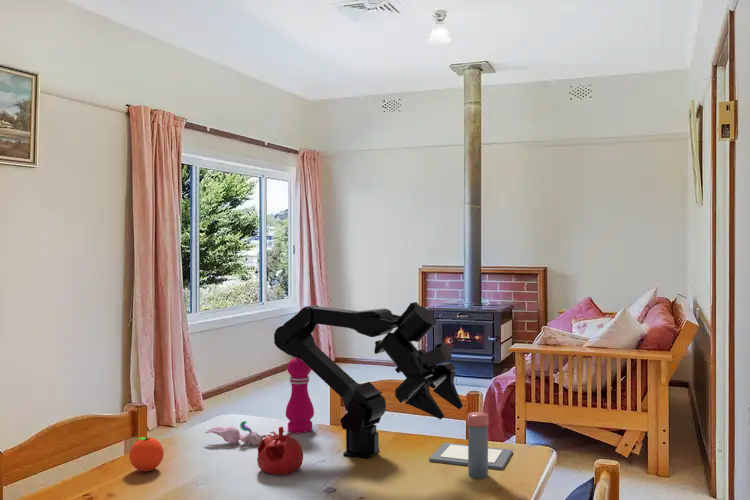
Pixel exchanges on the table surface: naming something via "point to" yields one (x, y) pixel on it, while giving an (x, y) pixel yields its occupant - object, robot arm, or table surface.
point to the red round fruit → (279, 454)
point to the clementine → (146, 453)
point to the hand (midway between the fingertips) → (452, 412)
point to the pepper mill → (299, 398)
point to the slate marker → (478, 445)
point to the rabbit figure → (238, 434)
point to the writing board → (460, 455)
